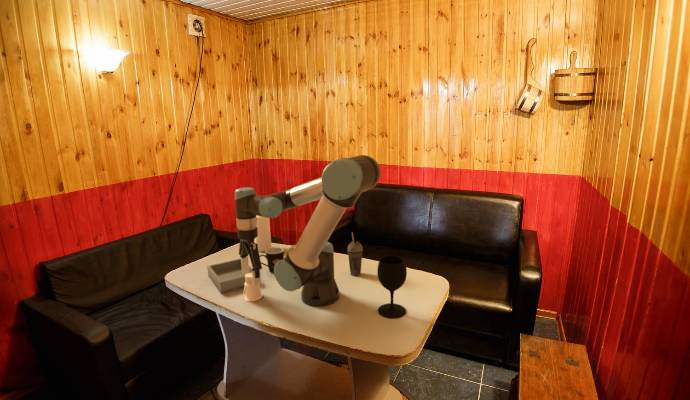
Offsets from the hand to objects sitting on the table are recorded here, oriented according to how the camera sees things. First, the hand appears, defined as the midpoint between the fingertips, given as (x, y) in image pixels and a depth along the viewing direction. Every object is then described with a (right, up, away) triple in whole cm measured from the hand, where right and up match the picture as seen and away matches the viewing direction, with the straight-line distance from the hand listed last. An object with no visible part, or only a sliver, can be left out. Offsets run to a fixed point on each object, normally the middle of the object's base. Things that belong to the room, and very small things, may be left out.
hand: (251, 278), depth 147 cm
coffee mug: (+3, -2, +28) cm, 28 cm away
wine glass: (+55, -10, -12) cm, 57 cm away
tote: (-13, -4, +18) cm, 23 cm away
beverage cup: (+42, -3, +21) cm, 47 cm away
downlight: (+1, -8, +2) cm, 8 cm away
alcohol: (-8, +4, +57) cm, 58 cm away
